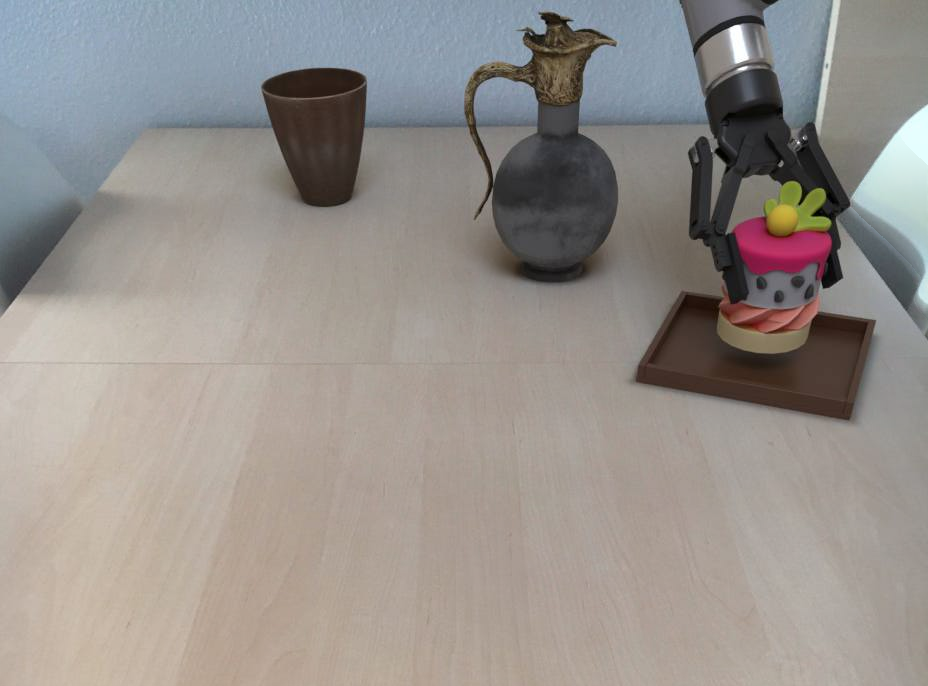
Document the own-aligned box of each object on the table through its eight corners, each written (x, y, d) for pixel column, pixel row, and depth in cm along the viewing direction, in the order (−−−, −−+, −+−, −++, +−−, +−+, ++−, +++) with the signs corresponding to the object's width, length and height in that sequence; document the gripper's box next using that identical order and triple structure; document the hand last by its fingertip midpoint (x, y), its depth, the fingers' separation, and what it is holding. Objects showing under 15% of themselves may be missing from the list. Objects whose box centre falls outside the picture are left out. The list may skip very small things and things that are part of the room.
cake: (808, 360, 109) (842, 218, 98) (707, 348, 111) (730, 208, 101) (813, 316, 116) (845, 179, 105) (718, 306, 118) (740, 171, 108)
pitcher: (610, 292, 129) (633, 21, 109) (460, 286, 132) (455, 20, 111) (613, 257, 137) (635, -2, 116) (472, 251, 139) (469, -3, 119)
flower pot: (301, 224, 148) (286, 104, 137) (261, 193, 157) (244, 78, 146) (392, 202, 153) (385, 85, 142) (348, 173, 163) (338, 61, 152)
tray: (871, 338, 119) (876, 319, 117) (849, 422, 106) (854, 402, 104) (679, 308, 126) (681, 290, 124) (635, 383, 113) (638, 364, 111)
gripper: (816, 94, 113) (861, 288, 113) (626, 118, 109) (673, 321, 109) (855, 52, 106) (903, 260, 106) (653, 76, 101) (703, 293, 101)
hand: (786, 291), depth 107 cm, fingers closed on cake, 10 cm apart
